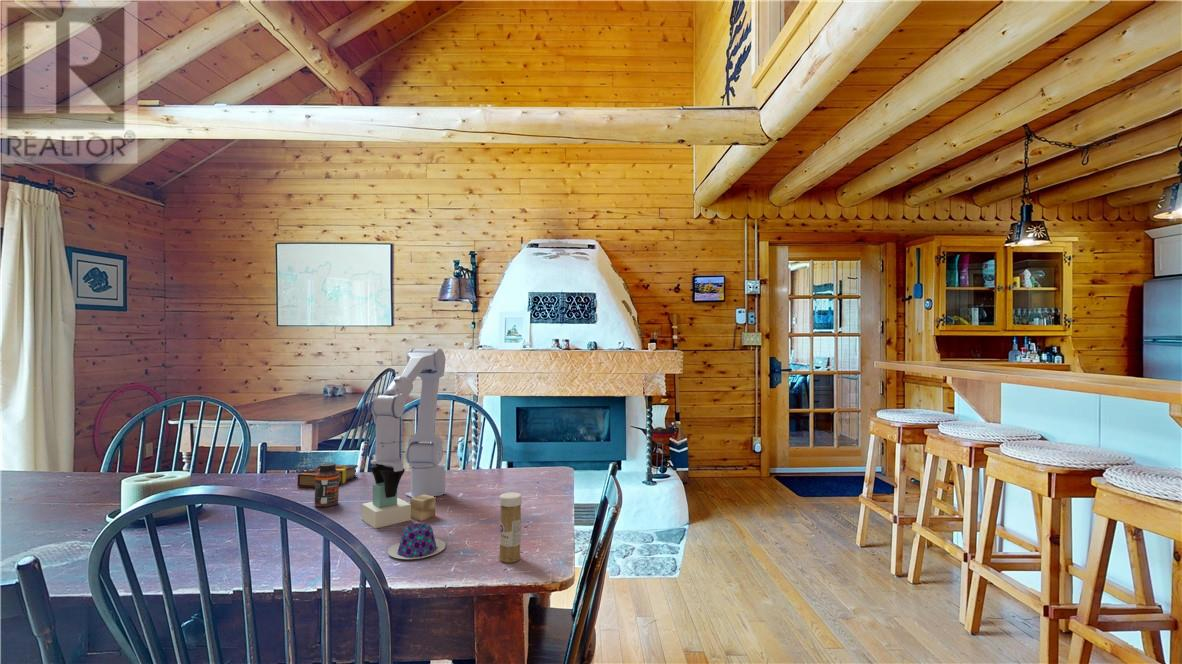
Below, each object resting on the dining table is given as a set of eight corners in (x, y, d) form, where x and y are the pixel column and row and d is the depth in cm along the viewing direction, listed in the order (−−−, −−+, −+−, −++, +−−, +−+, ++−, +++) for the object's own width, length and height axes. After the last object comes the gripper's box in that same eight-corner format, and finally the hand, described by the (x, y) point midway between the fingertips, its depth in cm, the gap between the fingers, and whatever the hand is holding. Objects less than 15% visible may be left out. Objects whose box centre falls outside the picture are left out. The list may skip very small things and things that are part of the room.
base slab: (395, 511, 137) (396, 496, 137) (410, 520, 131) (410, 504, 131) (361, 519, 131) (361, 503, 131) (375, 528, 124) (375, 512, 124)
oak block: (423, 513, 136) (423, 494, 137) (435, 516, 134) (435, 496, 134) (409, 517, 133) (410, 498, 133) (421, 520, 130) (421, 501, 130)
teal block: (389, 500, 134) (390, 481, 134) (397, 503, 130) (397, 484, 131) (372, 503, 131) (372, 484, 131) (379, 507, 127) (379, 487, 127)
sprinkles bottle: (494, 559, 107) (495, 494, 107) (511, 553, 110) (511, 490, 110) (508, 565, 104) (509, 499, 104) (525, 558, 107) (526, 494, 108)
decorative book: (296, 488, 160) (296, 472, 160) (329, 475, 176) (329, 461, 176) (329, 490, 159) (329, 474, 159) (359, 477, 175) (360, 462, 175)
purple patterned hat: (392, 567, 103) (392, 541, 103) (384, 547, 114) (384, 523, 114) (451, 555, 109) (451, 531, 109) (438, 537, 120) (439, 515, 120)
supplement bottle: (328, 508, 140) (329, 467, 140) (309, 507, 141) (310, 465, 141) (343, 502, 145) (344, 462, 146) (324, 500, 147) (325, 461, 147)
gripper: (361, 439, 134) (360, 491, 133) (383, 447, 123) (382, 504, 123) (387, 436, 139) (386, 486, 138) (411, 443, 128) (410, 498, 128)
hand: (386, 494), depth 131 cm, fingers open, 5 cm apart
